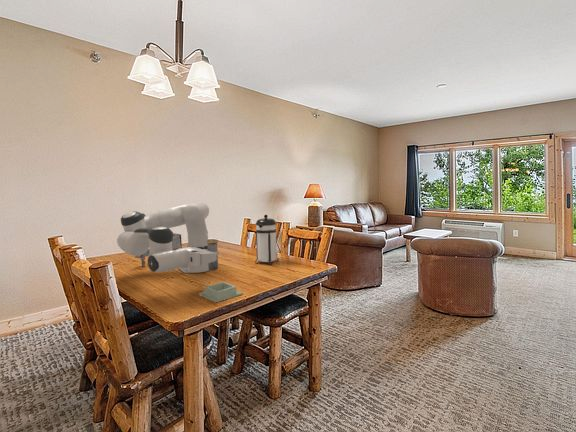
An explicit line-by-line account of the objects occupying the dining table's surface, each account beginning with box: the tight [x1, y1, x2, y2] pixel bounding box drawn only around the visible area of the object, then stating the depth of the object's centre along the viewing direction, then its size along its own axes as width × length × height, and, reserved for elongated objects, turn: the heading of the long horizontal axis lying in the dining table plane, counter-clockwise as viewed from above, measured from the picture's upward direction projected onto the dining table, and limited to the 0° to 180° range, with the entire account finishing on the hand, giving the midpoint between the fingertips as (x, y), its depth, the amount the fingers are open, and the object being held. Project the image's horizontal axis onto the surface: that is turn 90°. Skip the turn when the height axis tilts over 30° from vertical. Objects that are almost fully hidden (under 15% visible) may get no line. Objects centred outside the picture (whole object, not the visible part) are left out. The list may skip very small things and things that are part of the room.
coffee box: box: [172, 232, 183, 250], centre depth 207 cm, size 9×6×16 cm
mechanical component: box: [134, 249, 149, 268], centre depth 186 cm, size 3×10×10 cm, turn 158°
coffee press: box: [254, 214, 279, 266], centre depth 193 cm, size 17×16×30 cm
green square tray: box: [198, 281, 244, 304], centre depth 138 cm, size 14×14×4 cm
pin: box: [207, 238, 219, 271], centre depth 148 cm, size 5×5×14 cm
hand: (214, 251), depth 148 cm, fingers closed on pin, 4 cm apart
